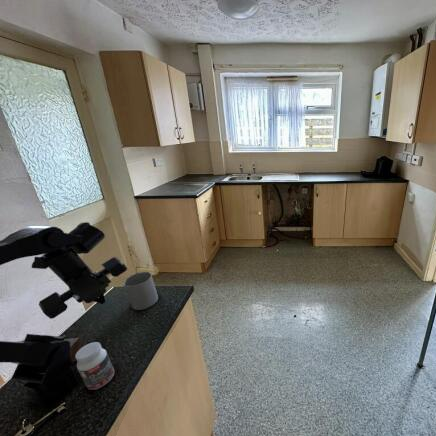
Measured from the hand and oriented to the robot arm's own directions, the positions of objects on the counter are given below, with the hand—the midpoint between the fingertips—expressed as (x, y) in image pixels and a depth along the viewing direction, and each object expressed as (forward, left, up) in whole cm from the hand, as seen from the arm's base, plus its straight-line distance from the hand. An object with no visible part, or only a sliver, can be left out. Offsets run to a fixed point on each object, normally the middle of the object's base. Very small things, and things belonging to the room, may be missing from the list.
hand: (103, 302), depth 69 cm
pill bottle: (-13, -10, -12) cm, 20 cm away
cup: (+14, +2, -12) cm, 18 cm away
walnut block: (-10, +5, -11) cm, 16 cm away
